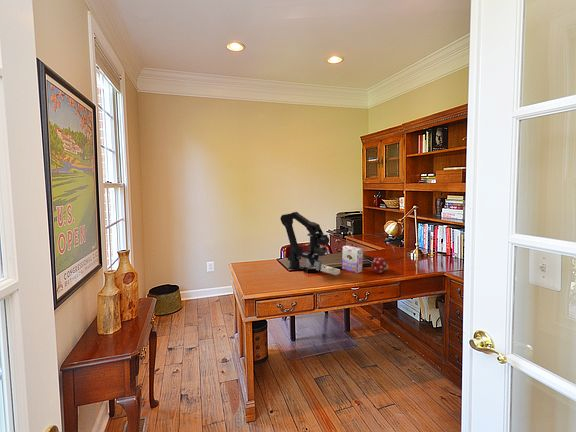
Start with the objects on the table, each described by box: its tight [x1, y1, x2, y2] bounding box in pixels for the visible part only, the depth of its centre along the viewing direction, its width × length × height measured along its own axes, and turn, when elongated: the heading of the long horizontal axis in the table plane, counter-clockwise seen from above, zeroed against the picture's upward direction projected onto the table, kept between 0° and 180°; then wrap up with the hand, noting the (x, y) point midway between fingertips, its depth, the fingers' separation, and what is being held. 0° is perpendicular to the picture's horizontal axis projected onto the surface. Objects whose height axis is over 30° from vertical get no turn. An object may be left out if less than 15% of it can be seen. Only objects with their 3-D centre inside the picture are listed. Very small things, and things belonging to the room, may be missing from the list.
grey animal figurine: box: [305, 258, 323, 272], centre depth 216 cm, size 11×3×6 cm, turn 48°
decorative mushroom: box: [371, 256, 389, 274], centre depth 222 cm, size 11×11×15 cm
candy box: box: [341, 244, 364, 274], centre depth 223 cm, size 14×6×16 cm, turn 41°
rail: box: [319, 264, 341, 276], centre depth 221 cm, size 16×5×3 cm, turn 48°
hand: (313, 265), depth 216 cm, fingers closed on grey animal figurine, 3 cm apart
